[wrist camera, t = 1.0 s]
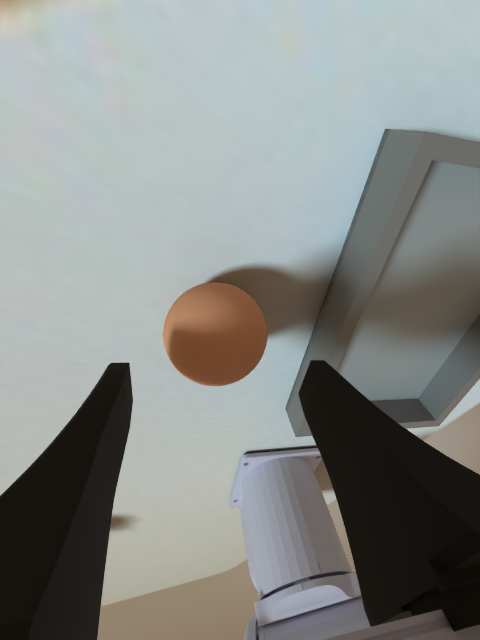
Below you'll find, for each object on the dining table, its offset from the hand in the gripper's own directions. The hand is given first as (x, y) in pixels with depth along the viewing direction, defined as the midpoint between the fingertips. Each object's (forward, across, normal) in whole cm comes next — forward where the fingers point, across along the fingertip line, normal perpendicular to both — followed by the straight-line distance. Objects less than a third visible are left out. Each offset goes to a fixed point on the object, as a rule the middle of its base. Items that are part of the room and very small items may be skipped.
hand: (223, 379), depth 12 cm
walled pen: (+6, -13, 0) cm, 14 cm away
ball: (+3, 0, 0) cm, 3 cm away
